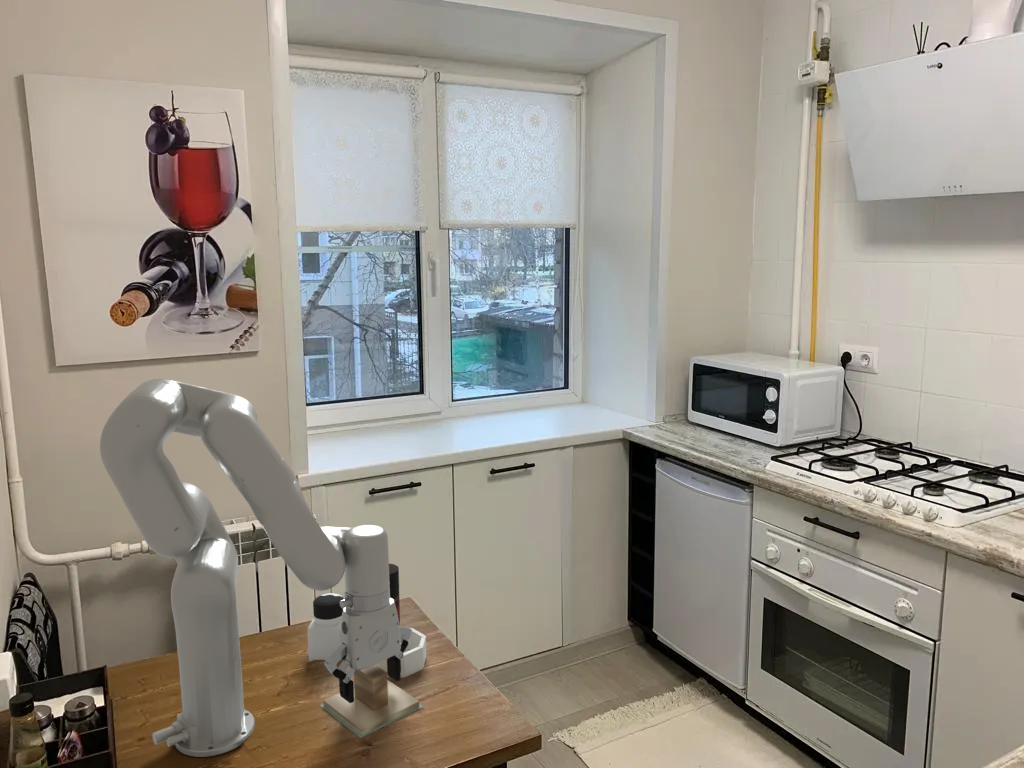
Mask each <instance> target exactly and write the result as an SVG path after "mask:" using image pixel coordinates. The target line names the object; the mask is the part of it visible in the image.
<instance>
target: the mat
mask: <svg viewBox="0 0 1024 768" xmlns="http://www.w3.org/2000/svg"><path fill="white" fill-rule="evenodd" d="M319 707H321V708H322V709H324V710H325V711H326V712H327V713H329V715H331V716H332V717H333V718H334V719H336V720H337V721H338V722H339V723H340V724H341V725H343V726H345V727H346V728H347V729H348V730H350V731H351V732H352V733H354V734H355V736H357V737H358V738H359V739H362V738H364V737H366V736H368V735H370V734H372V733H374V732H376V731H378V730H380V729H382V728H383V727H386V726H388V725H389V724H392V723H394V722H396V721H398V720H400V719H401V718H404V717H406V716H408V715H410V714H411V713H413V712H415V711H417V710H420V709H421V708H424V706H423V705H422V704H421V703H419V707H417V708H415V709H413V710H411V711H409V712H407V713H405V714H403V715H401V716H399V717H397V718H395V719H393V720H391V721H389V722H387V723H385V724H383V725H381V726H379V727H377V728H375V729H373V730H371V731H369V732H367V733H365V734H363V735H360V734H359V733H358V732H357V731H355V730H354V729H353V728H352V727H350V726H349V725H348V724H347V723H345V722H344V721H343V720H342V719H340V718H339V717H338V716H337V715H335V714H334V713H333V712H332V711H330V710H329V709H328V708H327V707H325V706H324V703H322V704H320V705H319Z"/></svg>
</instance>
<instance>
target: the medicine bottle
mask: <svg viewBox="0 0 1024 768" xmlns="http://www.w3.org/2000/svg"><path fill="white" fill-rule="evenodd" d="M344 598H345V597H343V596H342V594H339V593H333V592H332V593H331V592H329V593H324V594H320V595H319V596H318V595H317V596H316V598H315V599H314V600H313V601H312V608H313V612H312V613H313V618H312V620H311V621H310V623H309V625H308V627H307V630H306V631H307V648H308V649H307V650H308V651H307V653H308V662H310V663H311V662H313V661H317V660H318V661H325V660H326V659H327V658H328V657H329V656H330V655H331V654H332V653H333V652H334V651H335V650H336V649H337V648H338V647H340V626H341V618H342V612H343V608H341V606H340V600H343V599H344Z"/></svg>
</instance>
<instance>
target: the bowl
mask: <svg viewBox="0 0 1024 768" xmlns="http://www.w3.org/2000/svg"><path fill="white" fill-rule="evenodd" d="M409 628H410V629H411V630H412V633H411V636H410V638H409V640H408V646H407V647H406V649H405V651H404V652H403V654H404V656H403V658H402V659H401V672H400V676H401V678H406V677H409V676H410V675H413V674H415V673H417V672H419V671H422V670H423V669H424V668H425V663H426V659H427V636H426V635H425V634H423V633H422V632H420V631H418V630H417V629H415V628H413V627H409ZM400 635H401V634H400ZM375 665H376V666H378V667H379V668H381V669H382V670H384V671H385V672H387V659H386V660H383V661H381V662H379V663H377V664H375ZM387 678H390V677H389V676H388V674H387Z"/></svg>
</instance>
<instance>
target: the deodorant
mask: <svg viewBox="0 0 1024 768" xmlns="http://www.w3.org/2000/svg"><path fill="white" fill-rule="evenodd" d="M399 569H400V567H399V566H398V565H396V564H395V563H394V564H393V563H389V586H390V598H392V599H393V600H394V602H395V606H396V610H397V614H398V619H399V626H401V612H400V611H401V609H400V608H401V606H400V604H401V602H400V576H399V574H400V573H399V572H400V571H399Z"/></svg>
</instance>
